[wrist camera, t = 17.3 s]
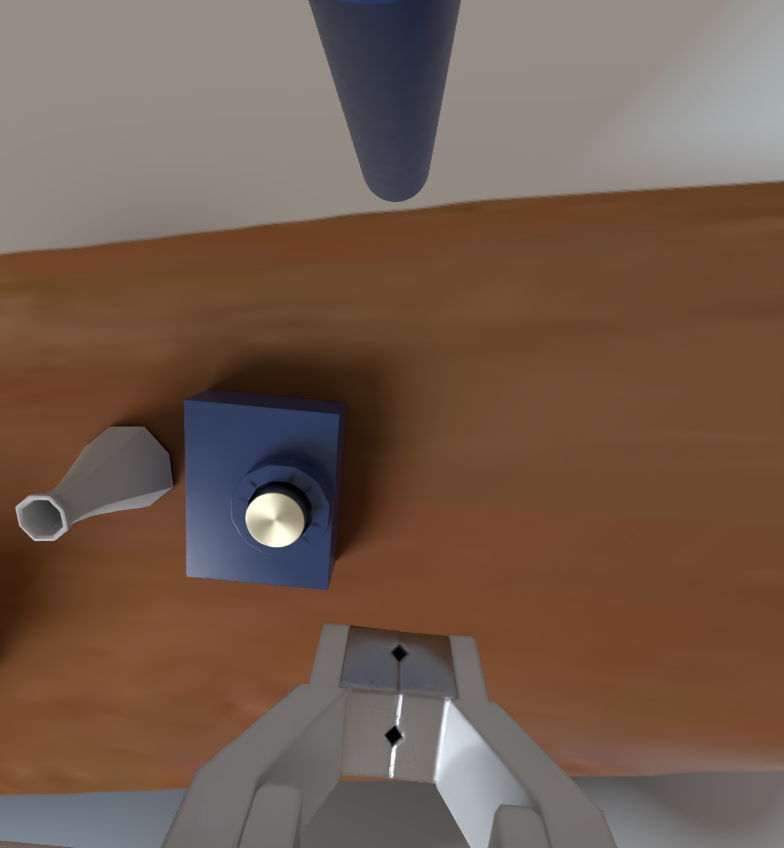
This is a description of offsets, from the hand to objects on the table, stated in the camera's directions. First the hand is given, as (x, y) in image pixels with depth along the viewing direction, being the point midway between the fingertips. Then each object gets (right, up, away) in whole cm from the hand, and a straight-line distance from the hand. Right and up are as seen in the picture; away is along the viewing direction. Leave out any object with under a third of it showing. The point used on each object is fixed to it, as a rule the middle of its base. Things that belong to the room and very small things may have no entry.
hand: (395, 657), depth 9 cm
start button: (-8, -1, +24) cm, 25 cm away
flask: (-22, +1, +30) cm, 37 cm away
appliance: (-10, 0, +30) cm, 31 cm away
